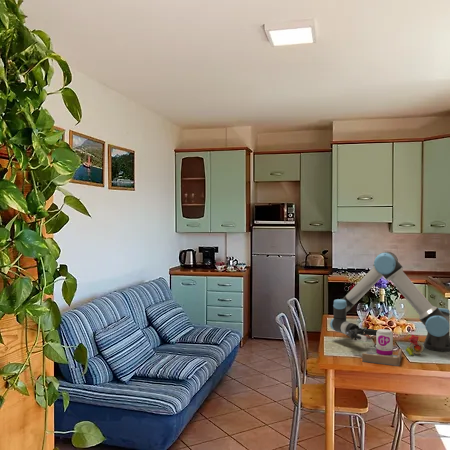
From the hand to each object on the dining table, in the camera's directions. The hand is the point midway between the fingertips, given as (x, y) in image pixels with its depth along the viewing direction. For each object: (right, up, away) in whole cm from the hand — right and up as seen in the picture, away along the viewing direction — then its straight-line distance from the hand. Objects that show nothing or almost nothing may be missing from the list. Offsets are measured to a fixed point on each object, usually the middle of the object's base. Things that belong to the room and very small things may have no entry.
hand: (375, 338), depth 242 cm
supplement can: (+3, -10, -6) cm, 12 cm away
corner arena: (+2, -10, -4) cm, 11 cm away
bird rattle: (+22, -10, +3) cm, 25 cm away
